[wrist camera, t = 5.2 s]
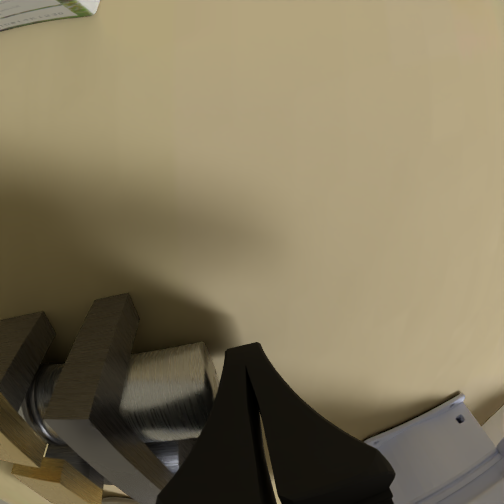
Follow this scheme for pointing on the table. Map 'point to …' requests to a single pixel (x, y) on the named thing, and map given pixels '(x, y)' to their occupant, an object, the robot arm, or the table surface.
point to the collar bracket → (81, 412)
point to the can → (118, 500)
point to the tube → (144, 394)
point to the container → (495, 426)
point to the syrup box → (42, 11)
